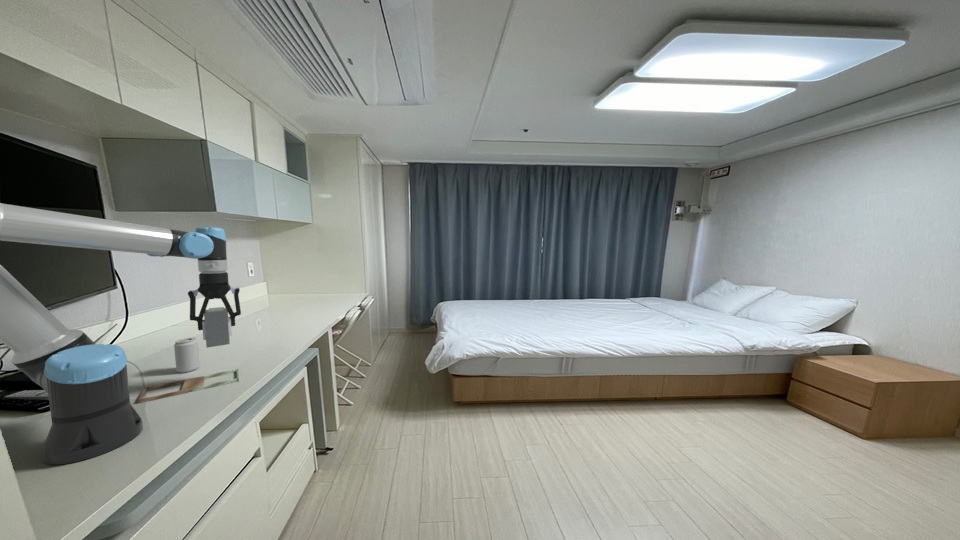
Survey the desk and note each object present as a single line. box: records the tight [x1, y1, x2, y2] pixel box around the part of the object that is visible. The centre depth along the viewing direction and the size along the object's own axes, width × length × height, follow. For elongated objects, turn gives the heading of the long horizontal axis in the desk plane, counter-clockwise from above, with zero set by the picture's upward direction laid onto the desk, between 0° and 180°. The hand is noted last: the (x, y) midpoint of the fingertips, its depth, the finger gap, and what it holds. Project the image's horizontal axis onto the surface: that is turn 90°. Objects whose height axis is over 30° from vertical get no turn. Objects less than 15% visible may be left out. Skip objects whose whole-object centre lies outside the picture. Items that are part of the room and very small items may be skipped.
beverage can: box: [173, 337, 200, 374], centre depth 114 cm, size 6×6×12 cm
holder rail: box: [137, 368, 240, 404], centre depth 102 cm, size 24×10×1 cm, turn 130°
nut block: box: [203, 306, 231, 349], centre depth 105 cm, size 6×6×13 cm
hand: (218, 336), depth 105 cm, fingers closed on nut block, 6 cm apart
